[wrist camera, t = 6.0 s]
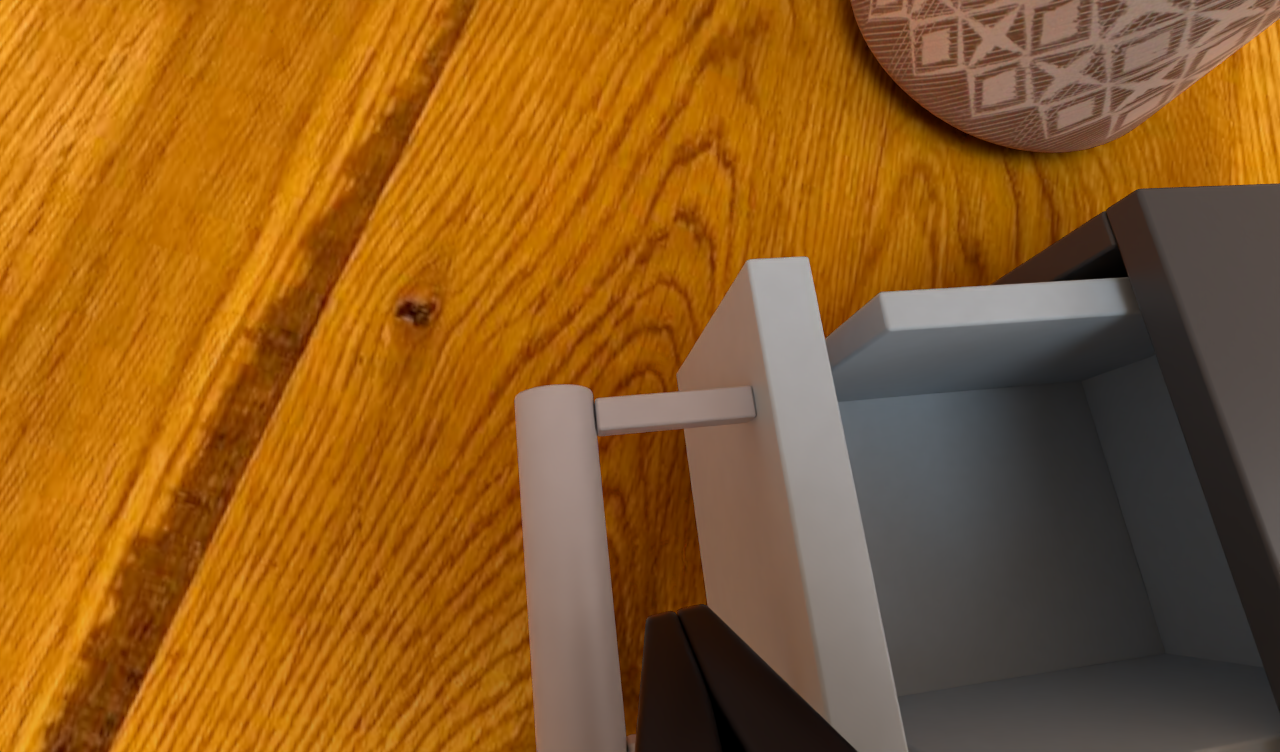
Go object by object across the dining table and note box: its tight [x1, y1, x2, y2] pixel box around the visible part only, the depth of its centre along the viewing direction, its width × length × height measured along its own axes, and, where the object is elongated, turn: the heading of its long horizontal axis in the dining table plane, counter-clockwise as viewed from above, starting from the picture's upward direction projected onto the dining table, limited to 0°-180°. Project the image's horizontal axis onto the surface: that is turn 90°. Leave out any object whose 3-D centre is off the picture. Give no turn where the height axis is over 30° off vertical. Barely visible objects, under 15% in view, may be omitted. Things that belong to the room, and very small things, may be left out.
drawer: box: [514, 257, 1280, 752], centre depth 14 cm, size 17×10×7 cm, turn 97°
